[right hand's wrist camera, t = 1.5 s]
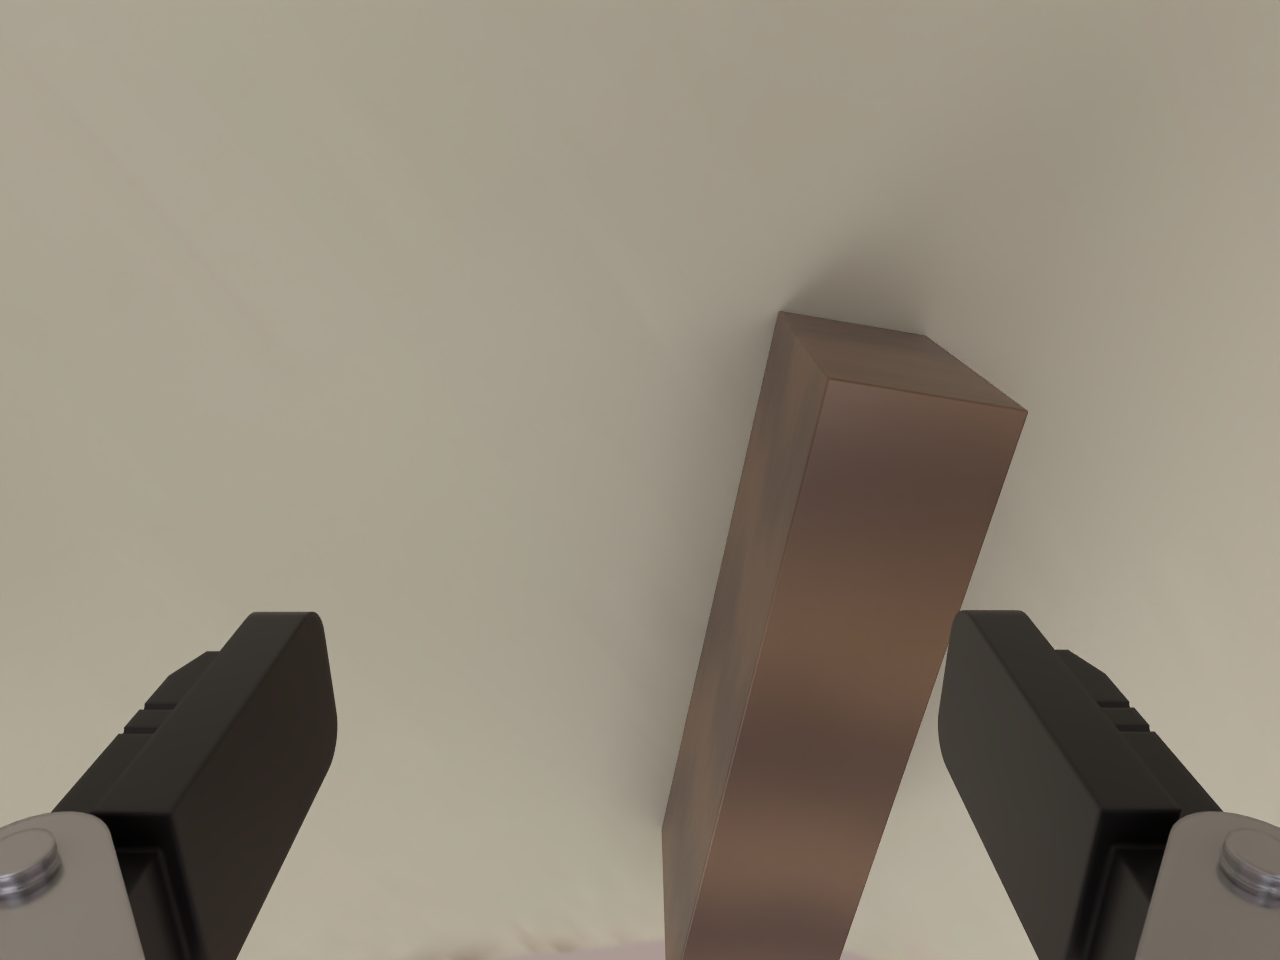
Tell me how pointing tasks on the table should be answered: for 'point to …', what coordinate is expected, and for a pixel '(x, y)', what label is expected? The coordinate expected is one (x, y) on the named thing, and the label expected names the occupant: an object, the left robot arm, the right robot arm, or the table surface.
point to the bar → (826, 632)
